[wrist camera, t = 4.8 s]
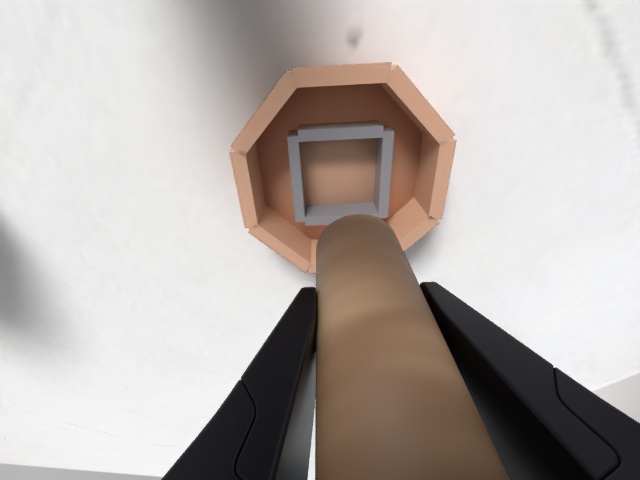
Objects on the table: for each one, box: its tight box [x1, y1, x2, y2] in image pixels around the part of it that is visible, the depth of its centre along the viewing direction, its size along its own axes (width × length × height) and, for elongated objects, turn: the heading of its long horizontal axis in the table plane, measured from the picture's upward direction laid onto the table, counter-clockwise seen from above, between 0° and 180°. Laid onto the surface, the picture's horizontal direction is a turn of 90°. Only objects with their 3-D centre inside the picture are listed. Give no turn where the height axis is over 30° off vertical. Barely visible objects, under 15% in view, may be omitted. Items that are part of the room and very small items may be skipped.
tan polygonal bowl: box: [230, 62, 457, 274], centre depth 18 cm, size 12×12×4 cm
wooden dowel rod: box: [315, 214, 510, 480], centre depth 7 cm, size 3×3×9 cm
